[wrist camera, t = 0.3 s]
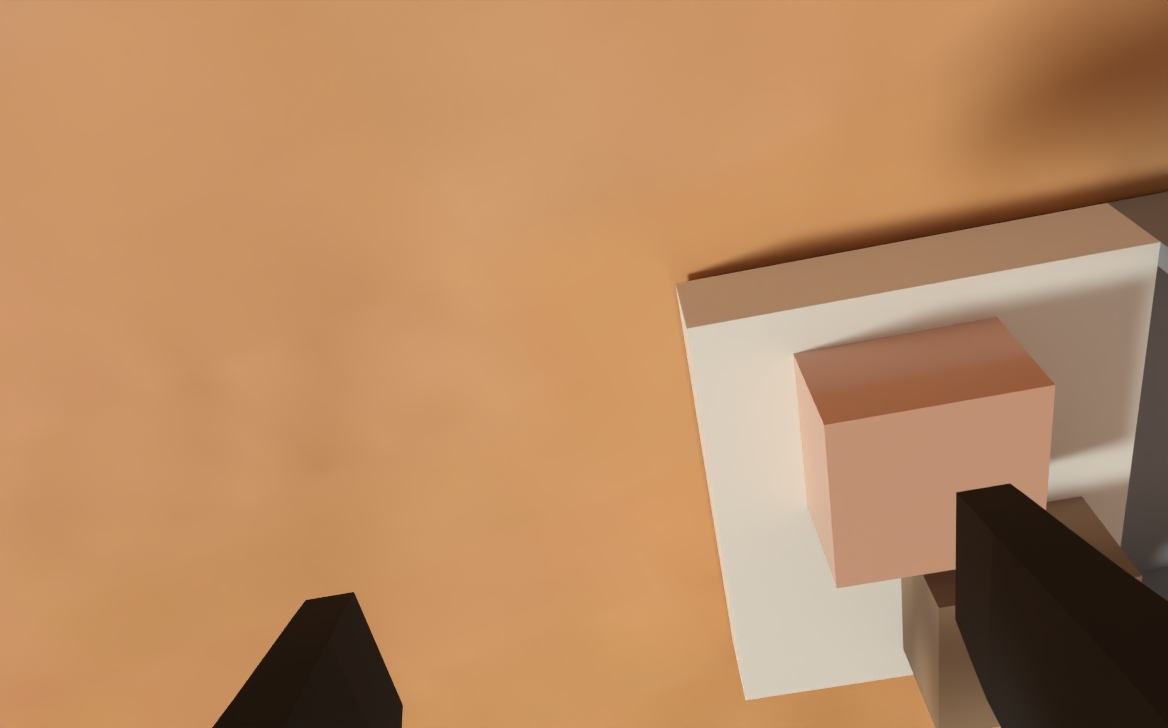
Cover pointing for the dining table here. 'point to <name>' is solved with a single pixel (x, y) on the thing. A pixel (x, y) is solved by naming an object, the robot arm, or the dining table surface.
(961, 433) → the terracotta tile
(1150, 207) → the grey box
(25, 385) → the dining table surface
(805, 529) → the white board
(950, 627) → the walnut block
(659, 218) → the dining table surface
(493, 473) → the dining table surface
